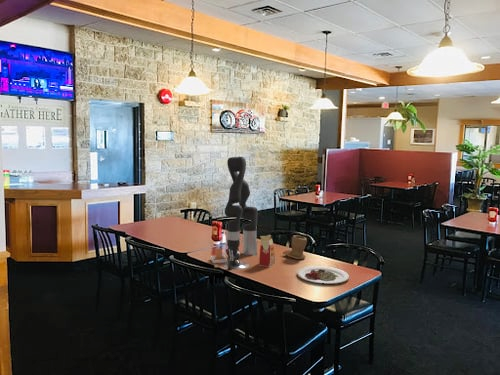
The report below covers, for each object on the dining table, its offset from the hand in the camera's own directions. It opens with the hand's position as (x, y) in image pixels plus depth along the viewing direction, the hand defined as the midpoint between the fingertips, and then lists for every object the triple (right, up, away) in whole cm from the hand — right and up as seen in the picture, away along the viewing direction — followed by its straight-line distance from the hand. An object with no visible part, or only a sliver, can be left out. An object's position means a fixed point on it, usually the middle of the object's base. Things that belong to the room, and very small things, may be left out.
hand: (233, 266), depth 246 cm
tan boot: (+41, 0, +33) cm, 53 cm away
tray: (-10, -1, +20) cm, 23 cm away
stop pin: (-10, 0, +20) cm, 23 cm away
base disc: (-1, -2, +11) cm, 11 cm away
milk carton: (+21, -2, +15) cm, 25 cm away
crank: (0, -2, +8) cm, 8 cm away
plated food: (+53, -6, -5) cm, 54 cm away
